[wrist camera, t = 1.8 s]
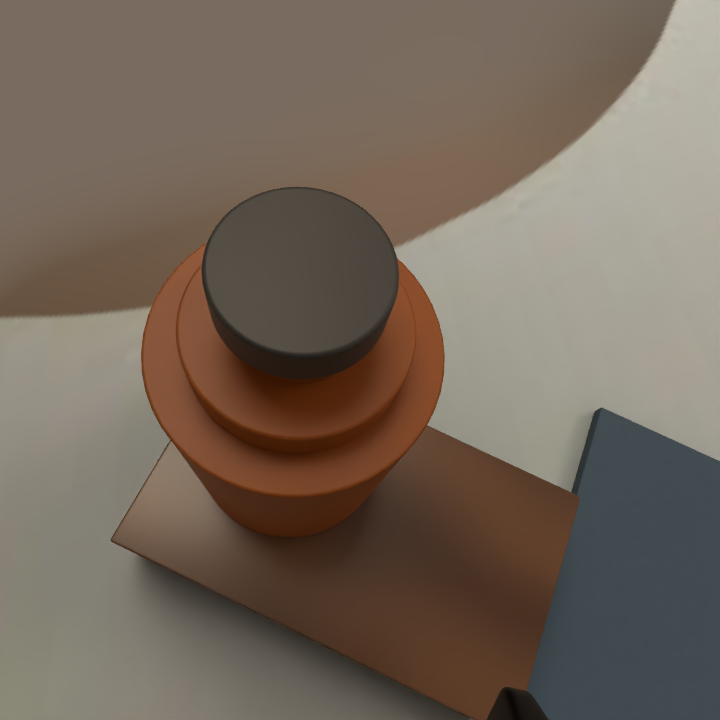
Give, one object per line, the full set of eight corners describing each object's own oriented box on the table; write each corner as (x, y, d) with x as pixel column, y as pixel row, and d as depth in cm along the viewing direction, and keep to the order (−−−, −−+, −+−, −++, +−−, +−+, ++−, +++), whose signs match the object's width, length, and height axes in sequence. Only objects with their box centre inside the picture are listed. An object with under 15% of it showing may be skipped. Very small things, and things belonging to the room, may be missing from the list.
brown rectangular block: (476, 715, 20) (514, 739, 16) (136, 549, 20) (109, 540, 17) (538, 510, 23) (581, 496, 19) (240, 370, 23) (233, 334, 20)
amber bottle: (336, 571, 18) (409, 540, 7) (160, 486, 18) (1, 345, 8) (410, 401, 20) (541, 203, 10) (253, 328, 20) (223, 63, 10)
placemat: (831, 987, 18) (848, 1000, 18) (479, 812, 19) (485, 818, 18) (863, 534, 24) (877, 532, 23) (594, 411, 25) (601, 406, 24)
